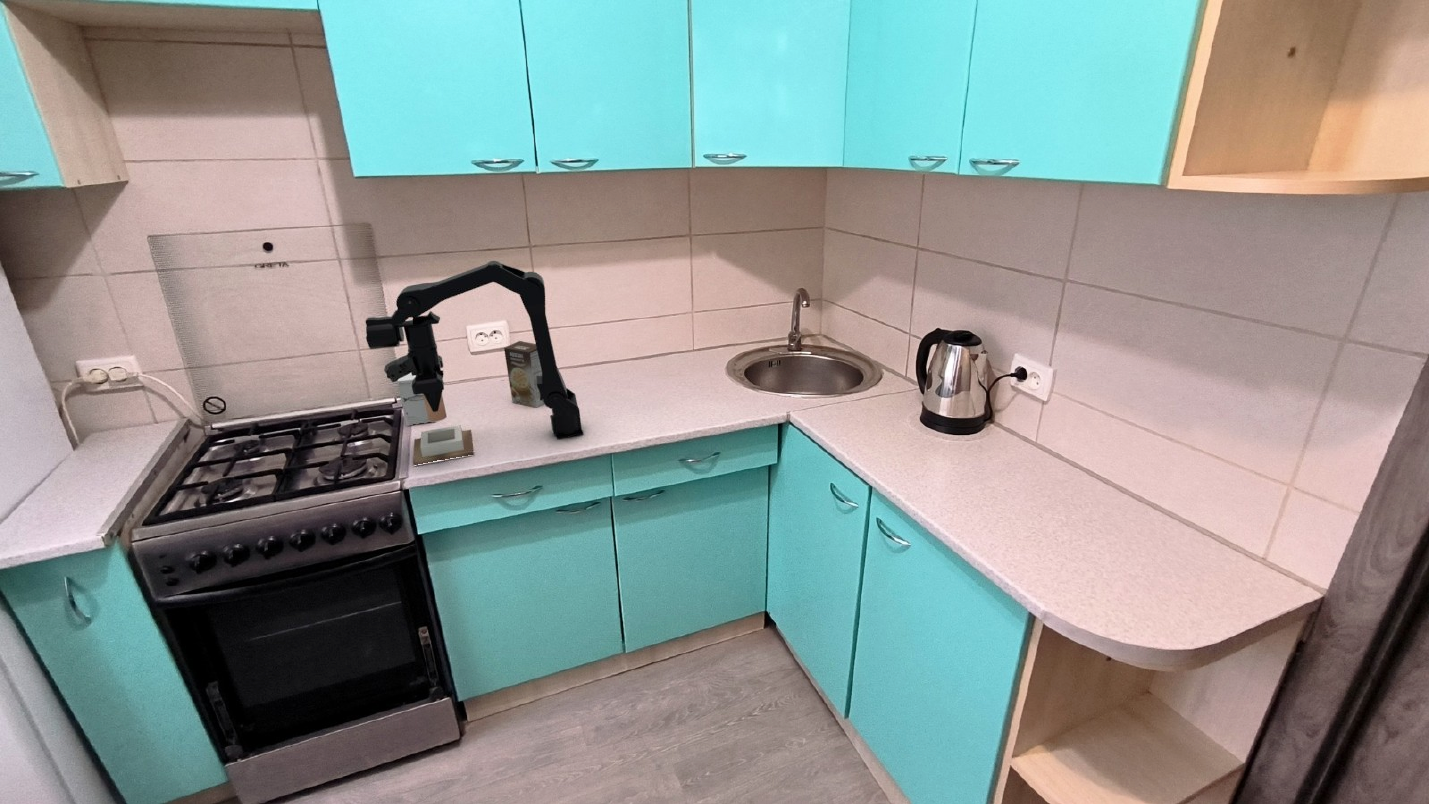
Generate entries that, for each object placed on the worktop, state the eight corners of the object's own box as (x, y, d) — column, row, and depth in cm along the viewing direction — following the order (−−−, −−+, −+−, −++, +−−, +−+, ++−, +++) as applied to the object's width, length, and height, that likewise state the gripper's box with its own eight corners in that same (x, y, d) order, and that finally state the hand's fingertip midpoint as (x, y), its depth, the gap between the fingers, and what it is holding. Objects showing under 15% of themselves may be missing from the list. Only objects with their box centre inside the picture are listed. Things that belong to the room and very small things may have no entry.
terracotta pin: (446, 412, 159) (439, 381, 156) (446, 419, 155) (440, 387, 152) (428, 415, 158) (421, 384, 154) (428, 422, 154) (421, 390, 151)
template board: (471, 433, 167) (469, 420, 166) (473, 455, 156) (471, 442, 155) (415, 442, 163) (412, 429, 162) (413, 466, 152) (410, 453, 151)
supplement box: (406, 426, 172) (395, 381, 167) (409, 415, 179) (399, 371, 174) (436, 422, 174) (426, 377, 169) (439, 411, 180) (430, 367, 175)
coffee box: (511, 402, 185) (502, 347, 178) (527, 394, 190) (518, 340, 183) (536, 408, 181) (528, 351, 174) (552, 399, 186) (544, 344, 179)
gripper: (385, 337, 155) (399, 399, 161) (379, 362, 139) (395, 430, 145) (436, 330, 158) (449, 391, 165) (436, 354, 142) (450, 421, 148)
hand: (435, 407), depth 156 cm, fingers closed on terracotta pin, 4 cm apart
